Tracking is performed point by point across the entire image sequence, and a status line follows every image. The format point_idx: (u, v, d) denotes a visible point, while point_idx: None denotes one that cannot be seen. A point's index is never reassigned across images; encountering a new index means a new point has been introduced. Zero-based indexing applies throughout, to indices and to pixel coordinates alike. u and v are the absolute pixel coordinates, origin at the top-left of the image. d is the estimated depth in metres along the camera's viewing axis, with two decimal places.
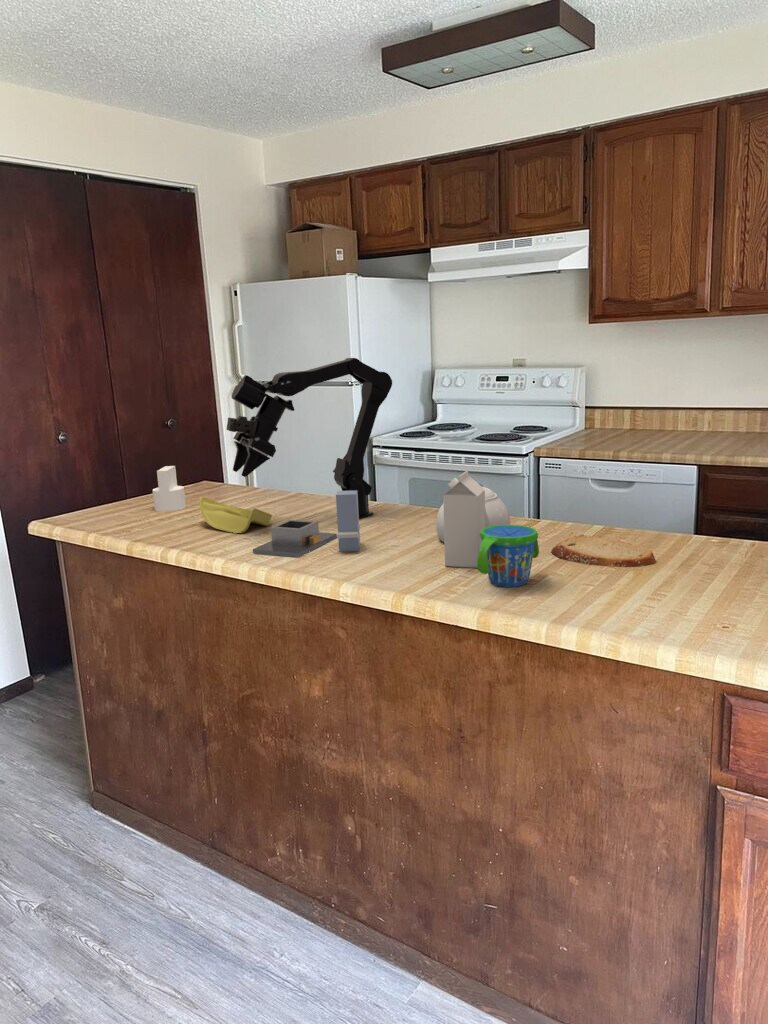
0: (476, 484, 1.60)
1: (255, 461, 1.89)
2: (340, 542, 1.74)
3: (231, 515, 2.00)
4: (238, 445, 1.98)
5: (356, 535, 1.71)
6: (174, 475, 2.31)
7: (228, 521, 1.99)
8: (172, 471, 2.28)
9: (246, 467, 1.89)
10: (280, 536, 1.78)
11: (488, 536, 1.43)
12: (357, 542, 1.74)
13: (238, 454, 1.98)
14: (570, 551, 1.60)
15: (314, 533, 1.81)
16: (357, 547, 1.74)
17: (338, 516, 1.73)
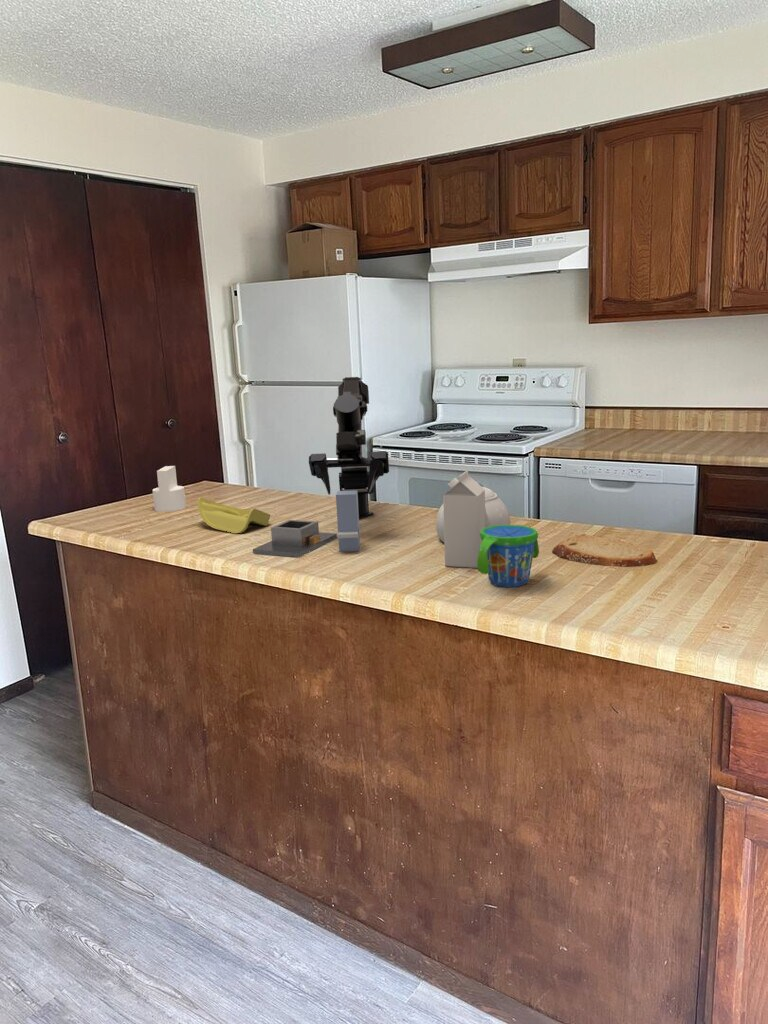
0: (476, 484, 1.60)
1: (374, 477, 1.83)
2: (340, 542, 1.74)
3: (230, 515, 2.00)
4: (326, 466, 1.82)
5: (356, 535, 1.71)
6: (174, 475, 2.31)
7: (227, 521, 1.99)
8: (172, 471, 2.28)
9: (372, 482, 1.80)
10: (280, 536, 1.78)
11: (488, 536, 1.43)
12: (357, 542, 1.74)
13: (328, 476, 1.82)
14: (571, 550, 1.60)
15: (314, 533, 1.81)
16: (357, 547, 1.74)
17: (338, 516, 1.73)
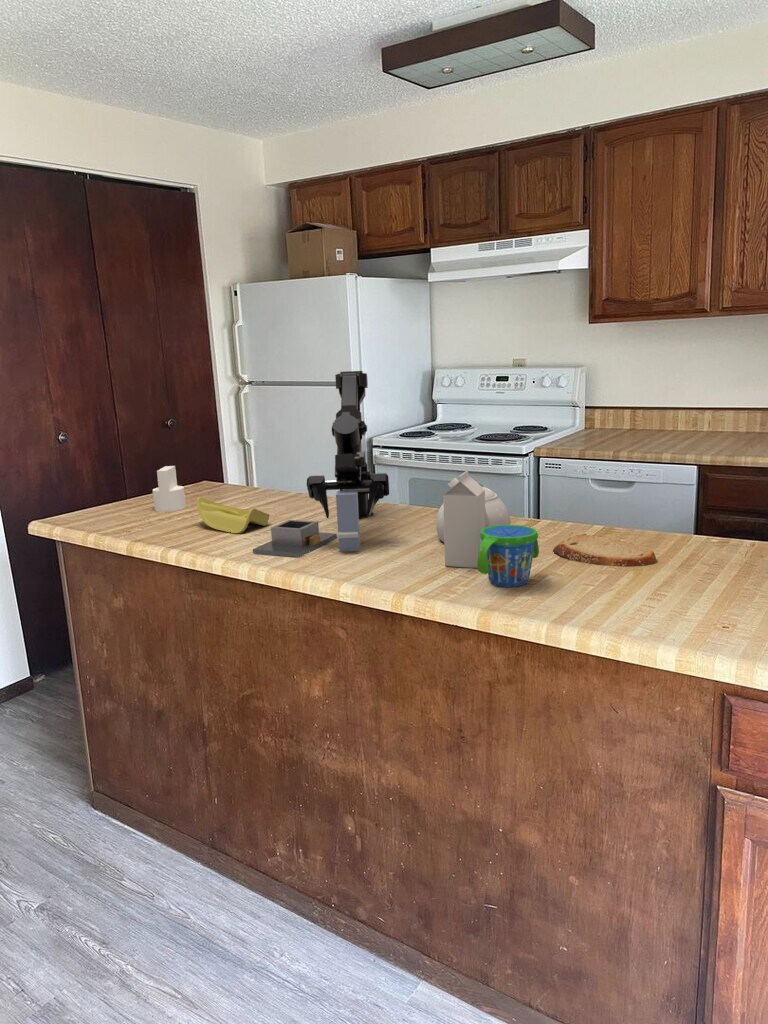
0: (476, 484, 1.60)
1: (373, 500, 1.78)
2: (340, 542, 1.74)
3: (229, 515, 2.00)
4: (325, 489, 1.77)
5: (356, 535, 1.71)
6: (174, 475, 2.31)
7: (226, 521, 1.99)
8: (172, 471, 2.28)
9: (371, 505, 1.75)
10: (280, 536, 1.78)
11: (488, 536, 1.43)
12: (357, 542, 1.74)
13: (326, 499, 1.76)
14: (571, 550, 1.60)
15: (314, 533, 1.81)
16: (357, 547, 1.74)
17: (338, 516, 1.73)
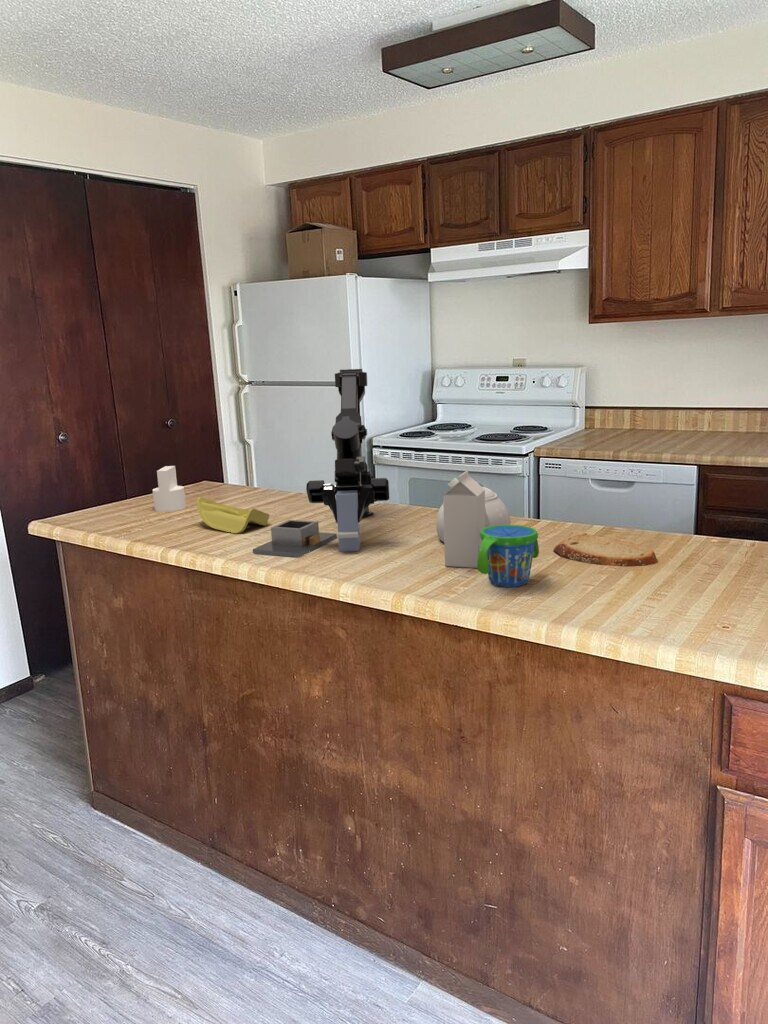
0: (476, 484, 1.60)
1: (364, 505, 1.77)
2: (340, 542, 1.74)
3: (229, 515, 2.00)
4: (334, 493, 1.76)
5: (356, 535, 1.71)
6: (174, 475, 2.31)
7: (226, 521, 1.99)
8: (172, 471, 2.28)
9: (362, 511, 1.75)
10: (280, 536, 1.78)
11: (488, 536, 1.43)
12: (357, 542, 1.74)
13: None
14: (572, 550, 1.61)
15: (314, 533, 1.81)
16: (357, 547, 1.74)
17: (338, 516, 1.73)
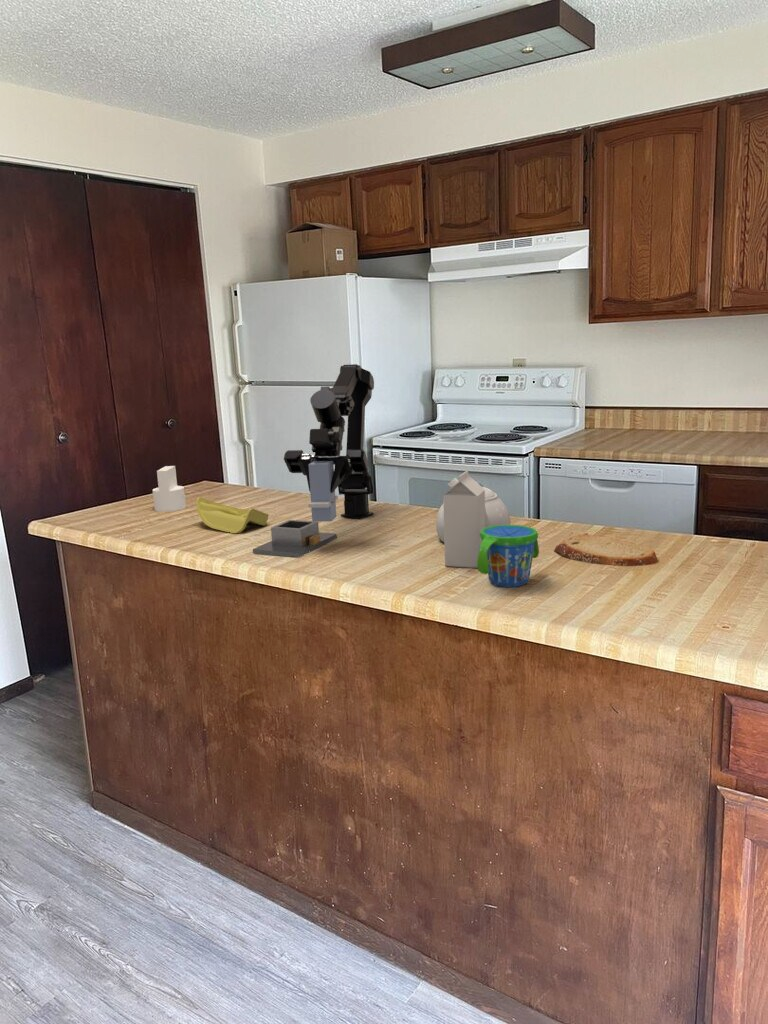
0: (476, 484, 1.60)
1: (340, 476, 1.76)
2: (313, 512, 1.74)
3: (228, 515, 2.00)
4: None
5: (326, 505, 1.71)
6: (174, 475, 2.31)
7: (225, 521, 1.99)
8: (172, 471, 2.28)
9: (335, 481, 1.74)
10: (280, 536, 1.78)
11: (488, 536, 1.43)
12: (329, 512, 1.74)
13: None
14: (572, 549, 1.61)
15: (314, 533, 1.81)
16: (330, 517, 1.74)
17: (311, 486, 1.73)
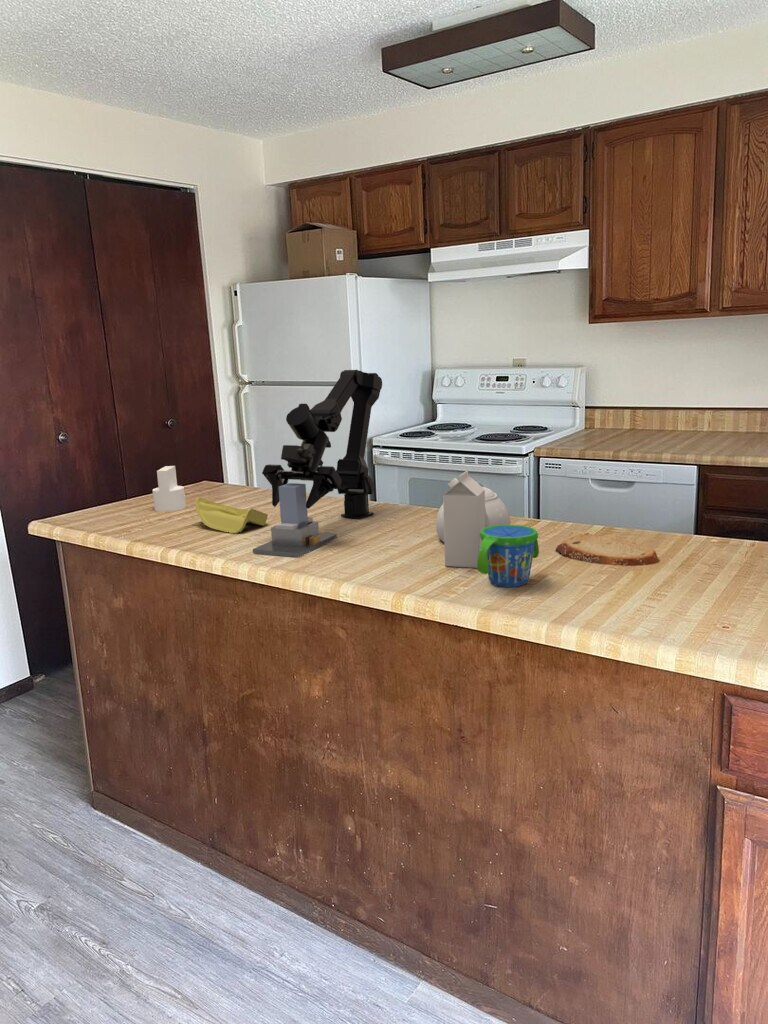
0: (476, 484, 1.60)
1: (319, 492, 1.79)
2: None
3: (227, 515, 2.00)
4: (277, 478, 1.82)
5: (292, 527, 1.76)
6: (174, 475, 2.31)
7: (224, 521, 1.99)
8: (172, 471, 2.28)
9: (312, 498, 1.77)
10: (280, 536, 1.78)
11: (488, 536, 1.43)
12: None
13: (277, 487, 1.81)
14: (573, 549, 1.61)
15: (314, 533, 1.81)
16: None
17: (281, 507, 1.78)
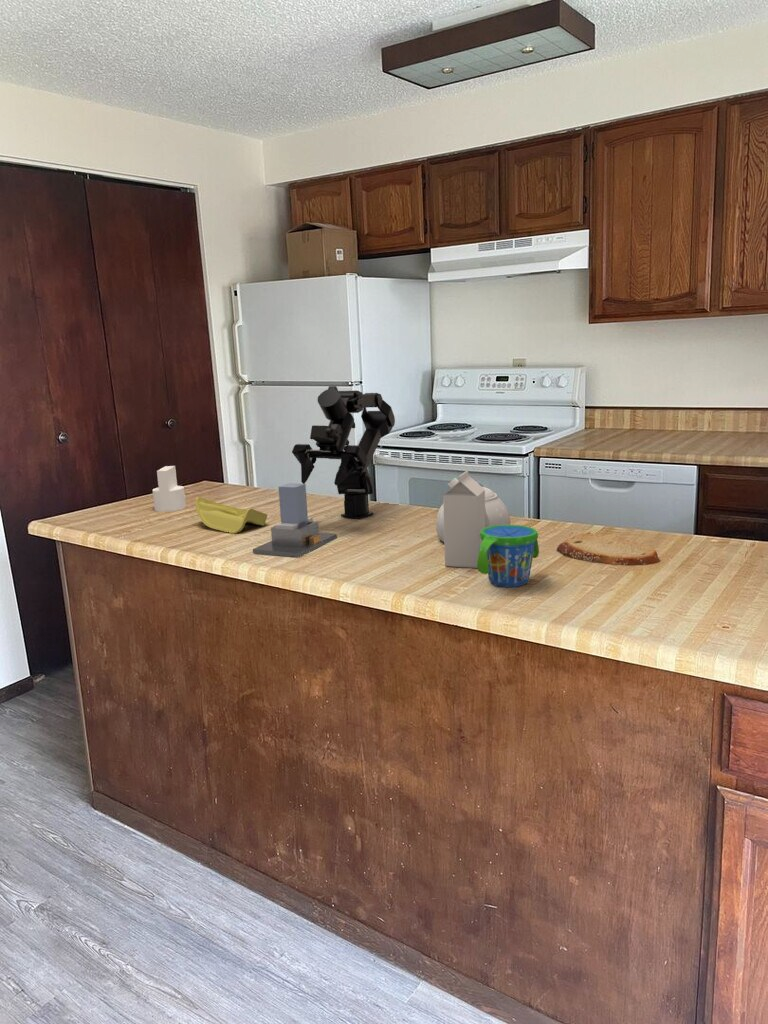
0: (476, 484, 1.60)
1: (346, 470, 1.89)
2: None
3: (227, 515, 2.00)
4: (305, 457, 1.92)
5: (292, 527, 1.76)
6: (174, 475, 2.31)
7: (224, 521, 1.99)
8: (172, 471, 2.28)
9: (340, 475, 1.87)
10: (280, 536, 1.78)
11: (488, 536, 1.43)
12: None
13: (305, 466, 1.92)
14: (574, 548, 1.61)
15: (314, 533, 1.81)
16: None
17: (281, 507, 1.78)
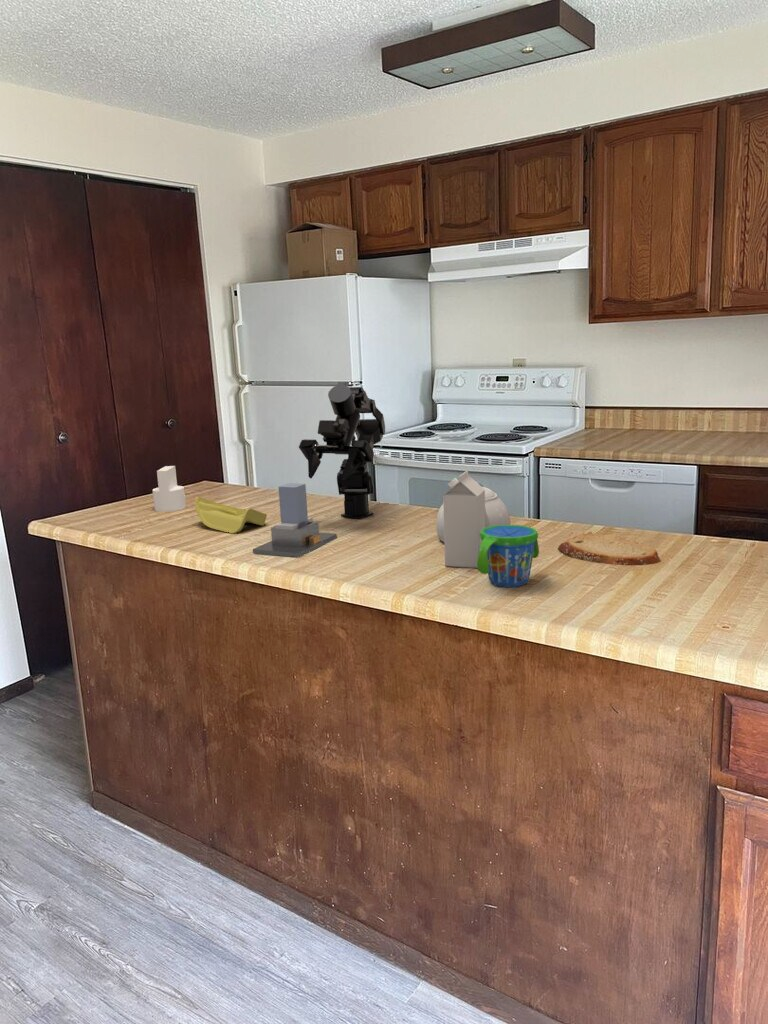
0: (476, 484, 1.60)
1: (353, 465, 1.90)
2: None
3: (226, 515, 2.00)
4: (312, 452, 1.94)
5: (292, 527, 1.76)
6: (174, 475, 2.31)
7: (223, 521, 1.99)
8: (172, 471, 2.28)
9: (347, 469, 1.88)
10: (280, 536, 1.78)
11: (488, 536, 1.43)
12: None
13: (312, 461, 1.93)
14: (574, 548, 1.62)
15: (314, 533, 1.81)
16: None
17: (281, 507, 1.78)
